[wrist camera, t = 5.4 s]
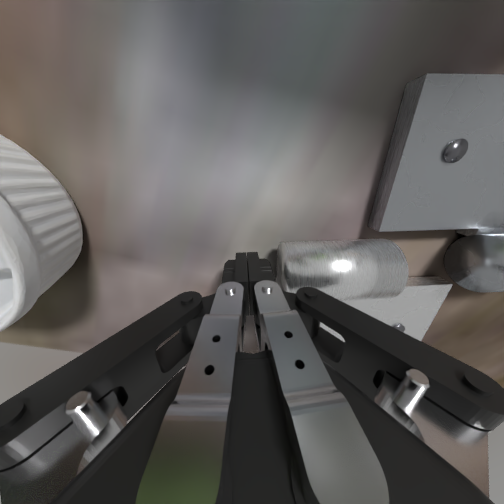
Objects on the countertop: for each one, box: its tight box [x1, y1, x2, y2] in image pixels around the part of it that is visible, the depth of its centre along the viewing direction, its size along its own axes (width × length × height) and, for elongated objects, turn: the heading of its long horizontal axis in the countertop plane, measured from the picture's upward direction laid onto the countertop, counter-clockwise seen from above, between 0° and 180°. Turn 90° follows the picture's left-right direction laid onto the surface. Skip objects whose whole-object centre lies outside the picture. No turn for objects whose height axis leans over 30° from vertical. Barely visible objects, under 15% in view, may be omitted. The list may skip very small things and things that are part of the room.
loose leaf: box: [275, 239, 453, 342], centre depth 14 cm, size 14×12×4 cm
